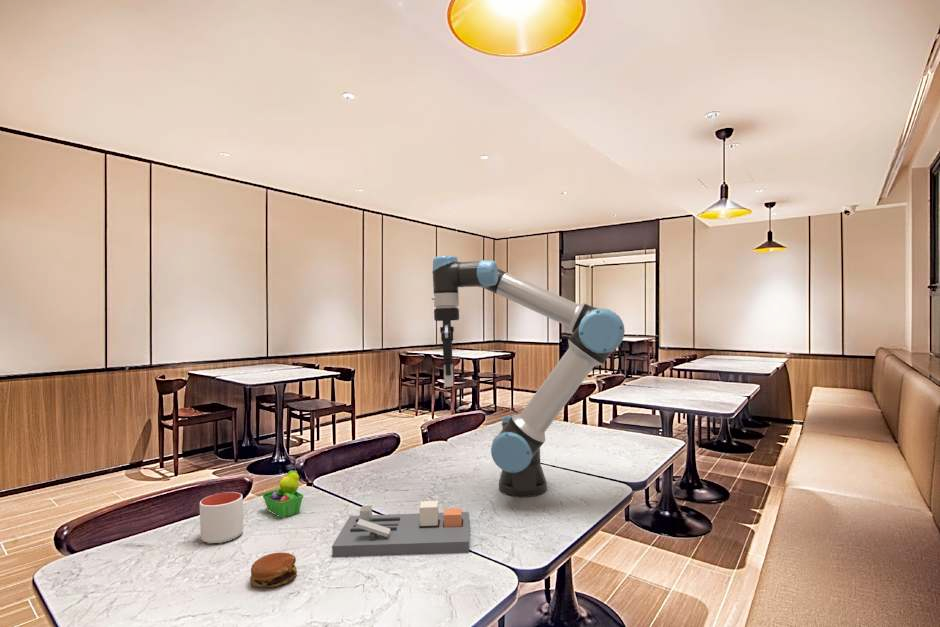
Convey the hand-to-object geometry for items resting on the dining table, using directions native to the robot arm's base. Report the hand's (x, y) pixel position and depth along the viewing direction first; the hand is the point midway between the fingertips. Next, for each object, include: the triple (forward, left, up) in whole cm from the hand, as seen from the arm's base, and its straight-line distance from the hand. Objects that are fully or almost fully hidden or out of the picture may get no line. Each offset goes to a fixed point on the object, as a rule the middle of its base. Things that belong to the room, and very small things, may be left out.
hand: (448, 385), depth 153 cm
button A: (-1, +23, -34) cm, 41 cm away
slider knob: (+21, +23, -31) cm, 44 cm away
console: (+11, +25, -34) cm, 44 cm away
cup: (+59, +21, -35) cm, 72 cm away
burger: (+37, +43, -35) cm, 67 cm away
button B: (+5, +23, -32) cm, 39 cm away
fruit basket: (+49, +5, -35) cm, 60 cm away
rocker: (+18, +30, -30) cm, 46 cm away
